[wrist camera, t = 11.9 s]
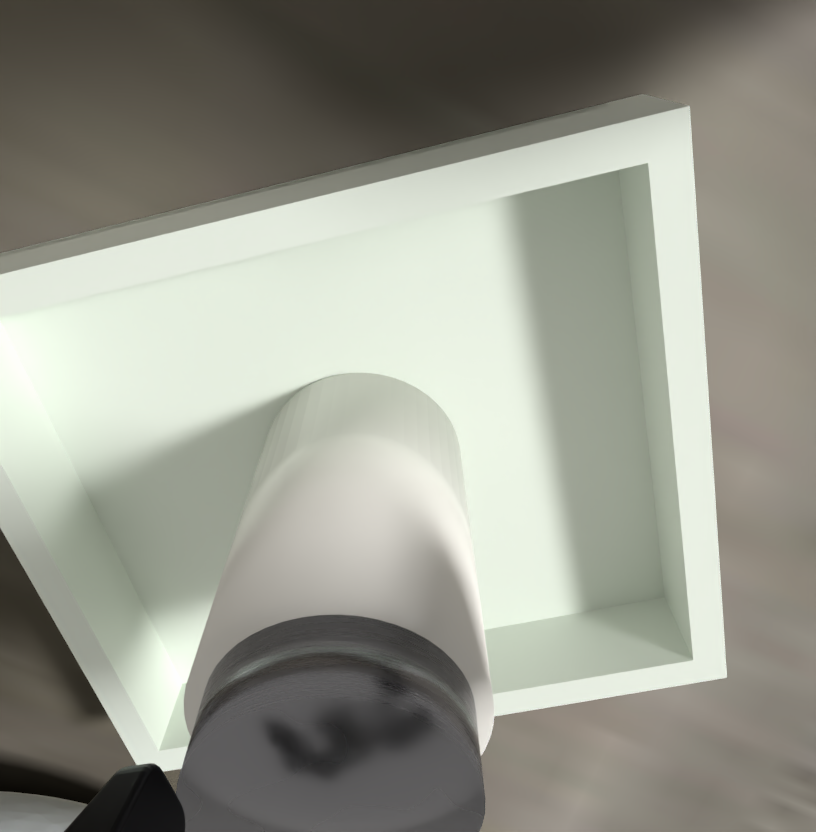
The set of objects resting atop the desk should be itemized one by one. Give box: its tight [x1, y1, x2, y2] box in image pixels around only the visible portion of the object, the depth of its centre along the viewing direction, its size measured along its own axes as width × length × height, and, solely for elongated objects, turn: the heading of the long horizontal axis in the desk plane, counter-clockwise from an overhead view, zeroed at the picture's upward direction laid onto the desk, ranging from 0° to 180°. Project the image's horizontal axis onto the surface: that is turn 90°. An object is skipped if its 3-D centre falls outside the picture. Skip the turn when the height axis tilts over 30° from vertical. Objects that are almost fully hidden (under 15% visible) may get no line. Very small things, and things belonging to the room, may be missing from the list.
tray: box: [0, 94, 727, 772], centre depth 19 cm, size 16×14×3 cm
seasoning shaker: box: [176, 373, 494, 832], centre depth 15 cm, size 5×5×10 cm
